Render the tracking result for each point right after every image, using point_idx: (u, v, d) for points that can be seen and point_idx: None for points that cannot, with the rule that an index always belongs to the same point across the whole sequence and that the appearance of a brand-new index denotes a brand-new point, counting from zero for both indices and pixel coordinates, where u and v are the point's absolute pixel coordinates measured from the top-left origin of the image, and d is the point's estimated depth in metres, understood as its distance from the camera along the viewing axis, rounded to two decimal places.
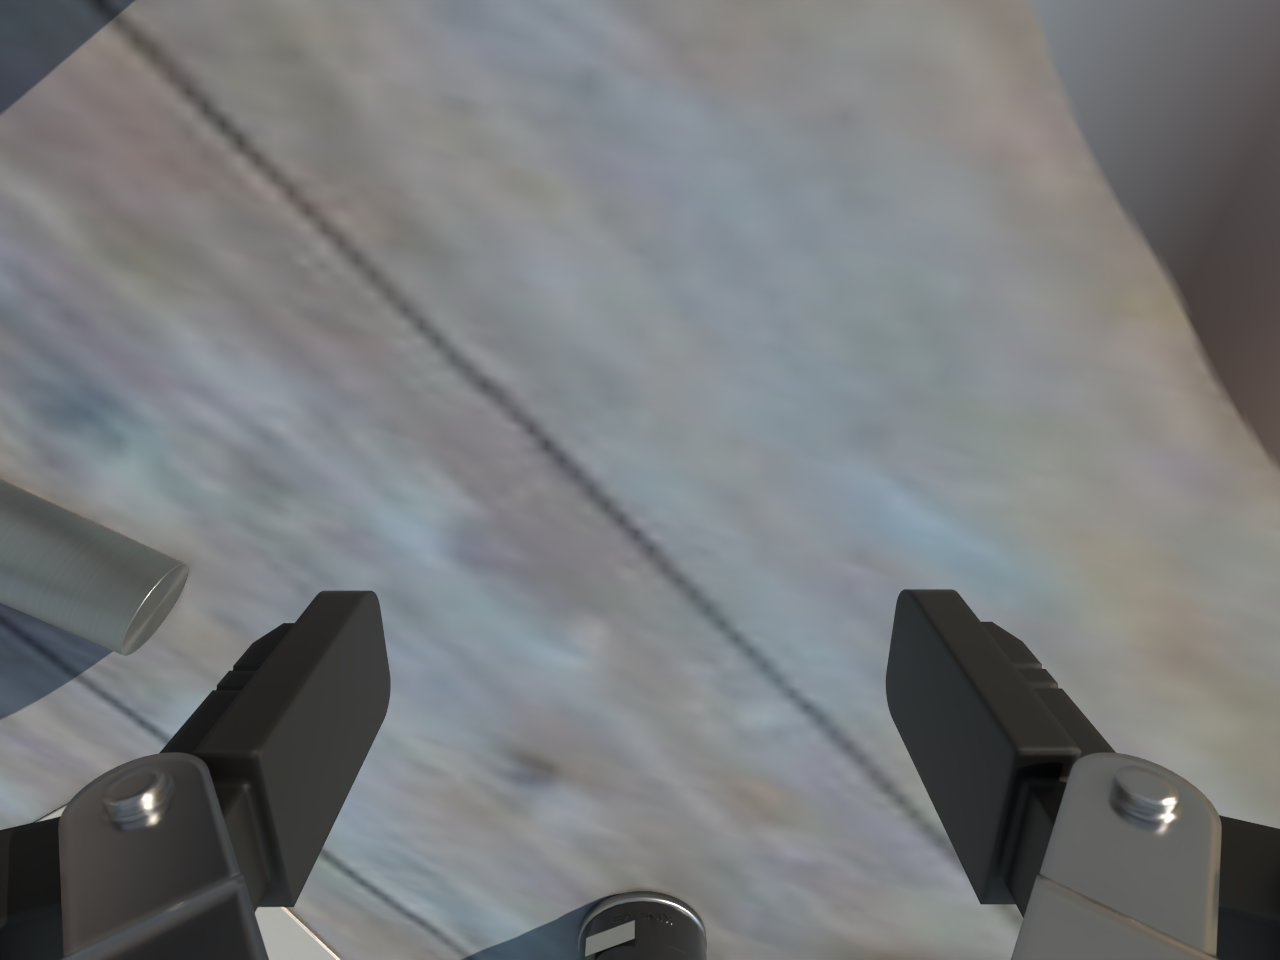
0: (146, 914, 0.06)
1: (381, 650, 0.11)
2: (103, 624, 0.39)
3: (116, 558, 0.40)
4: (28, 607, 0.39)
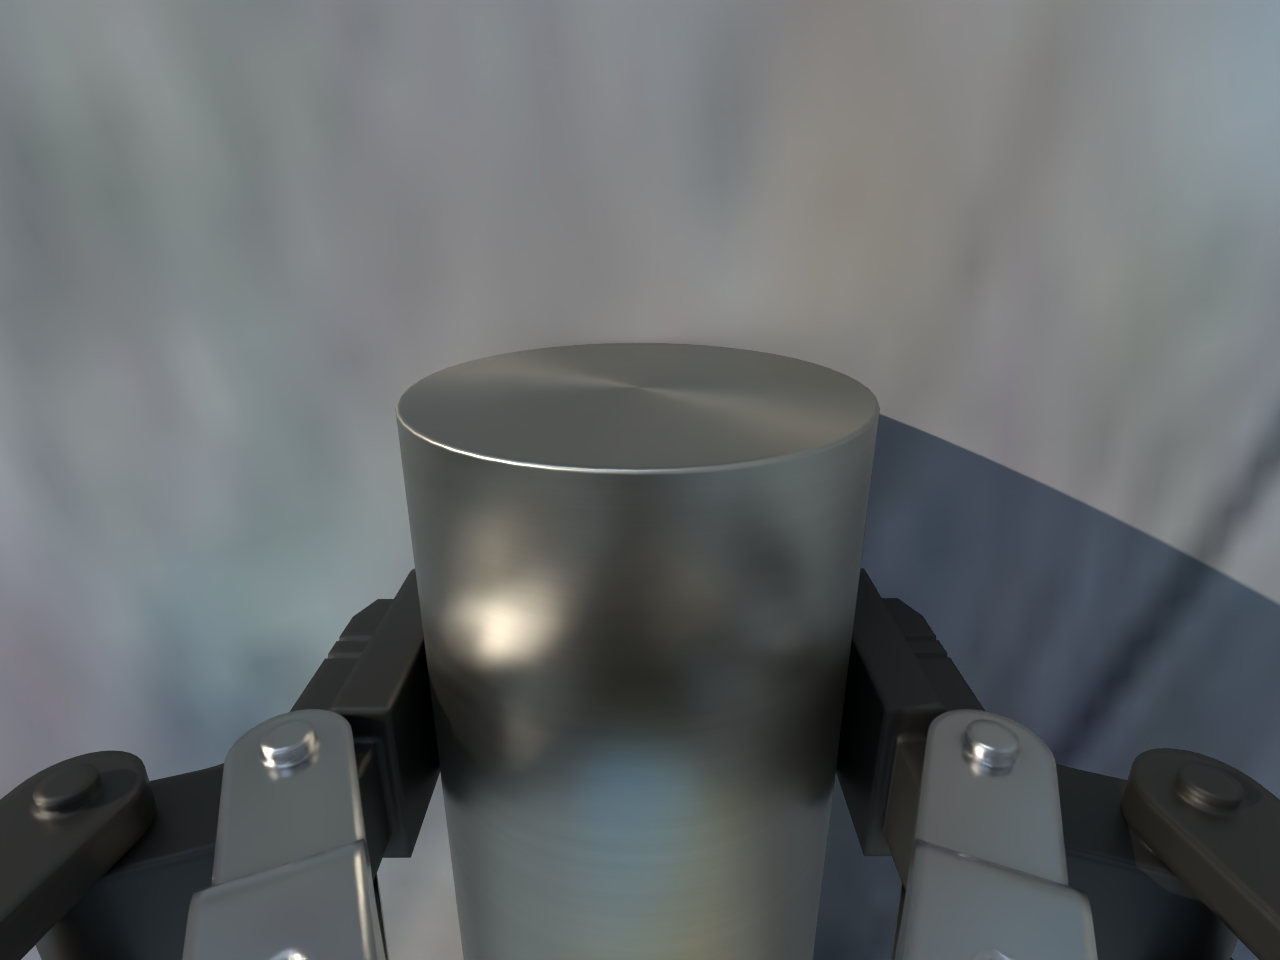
0: (282, 859, 0.06)
1: None
2: (616, 587, 0.07)
3: None
4: (711, 875, 0.08)
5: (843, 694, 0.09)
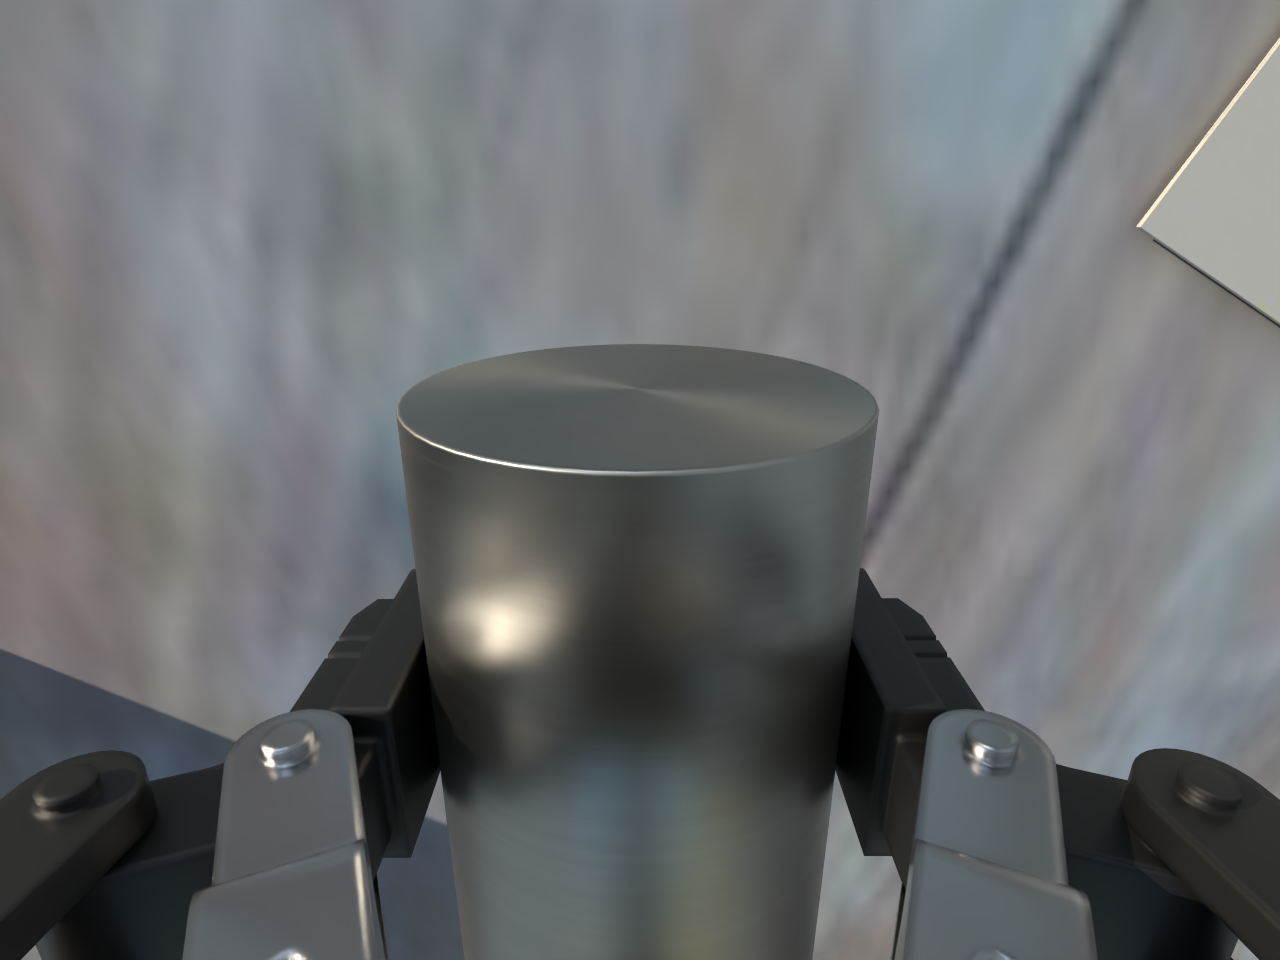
0: (282, 859, 0.06)
1: None
2: (616, 588, 0.07)
3: None
4: (711, 876, 0.08)
5: (843, 695, 0.09)
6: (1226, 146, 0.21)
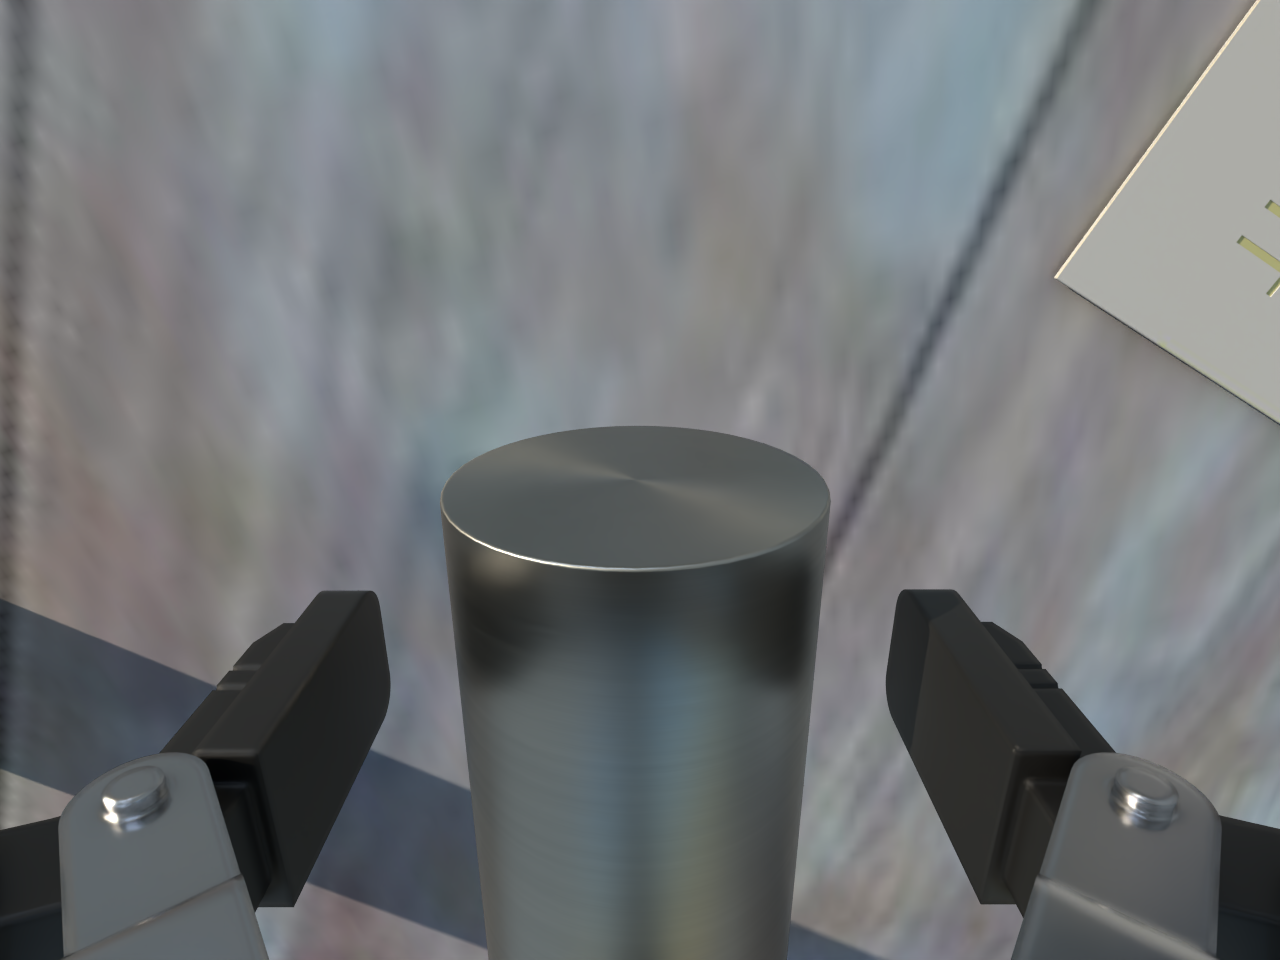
0: (146, 914, 0.06)
1: (381, 650, 0.11)
2: (619, 656, 0.09)
3: (456, 655, 0.11)
4: (697, 880, 0.10)
5: (806, 729, 0.11)
6: (1124, 213, 0.26)
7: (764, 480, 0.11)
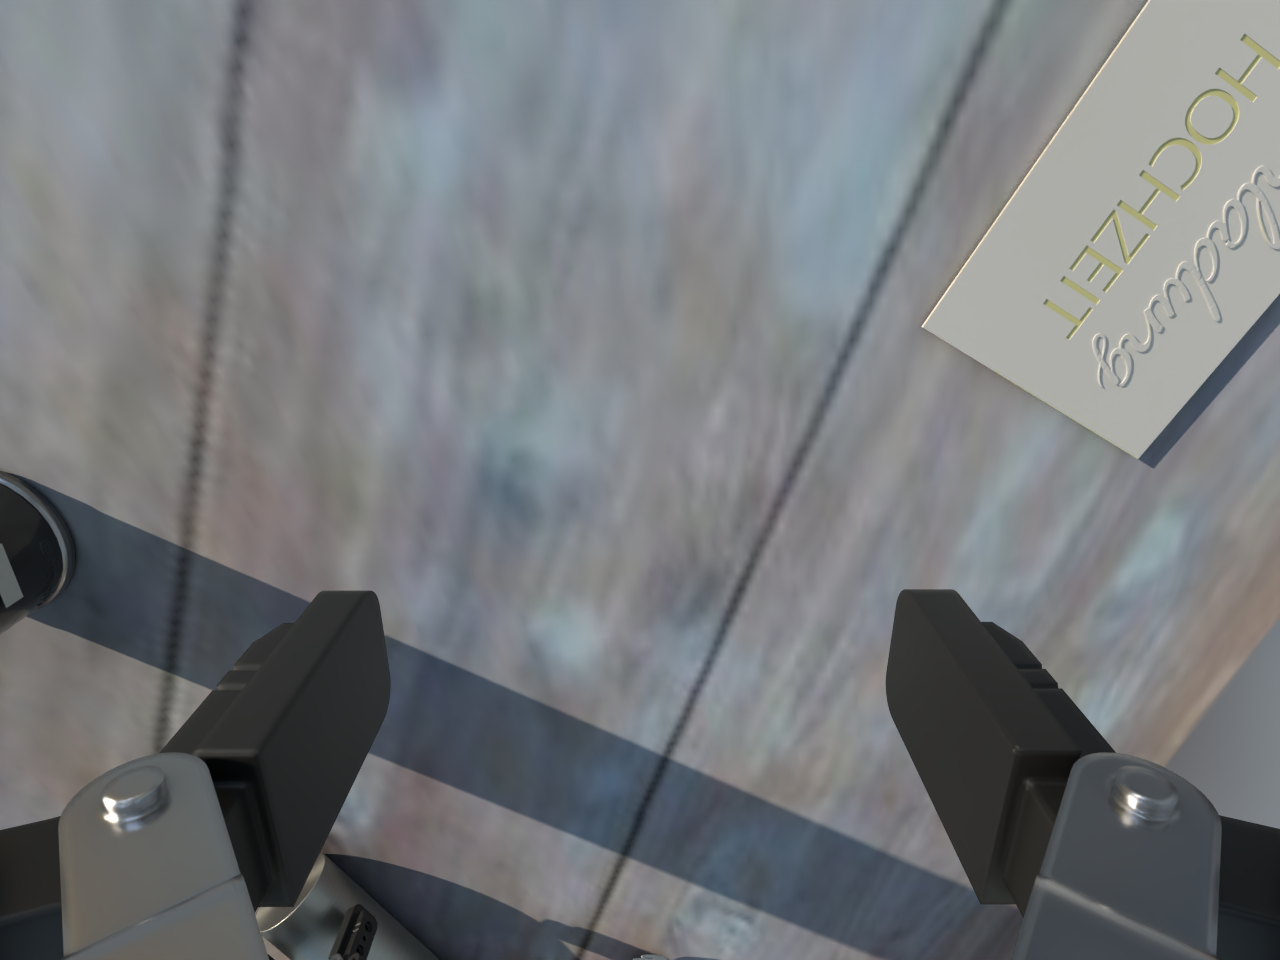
0: (146, 914, 0.06)
1: (381, 650, 0.11)
2: None
3: None
4: None
5: None
6: (965, 285, 0.38)
7: None
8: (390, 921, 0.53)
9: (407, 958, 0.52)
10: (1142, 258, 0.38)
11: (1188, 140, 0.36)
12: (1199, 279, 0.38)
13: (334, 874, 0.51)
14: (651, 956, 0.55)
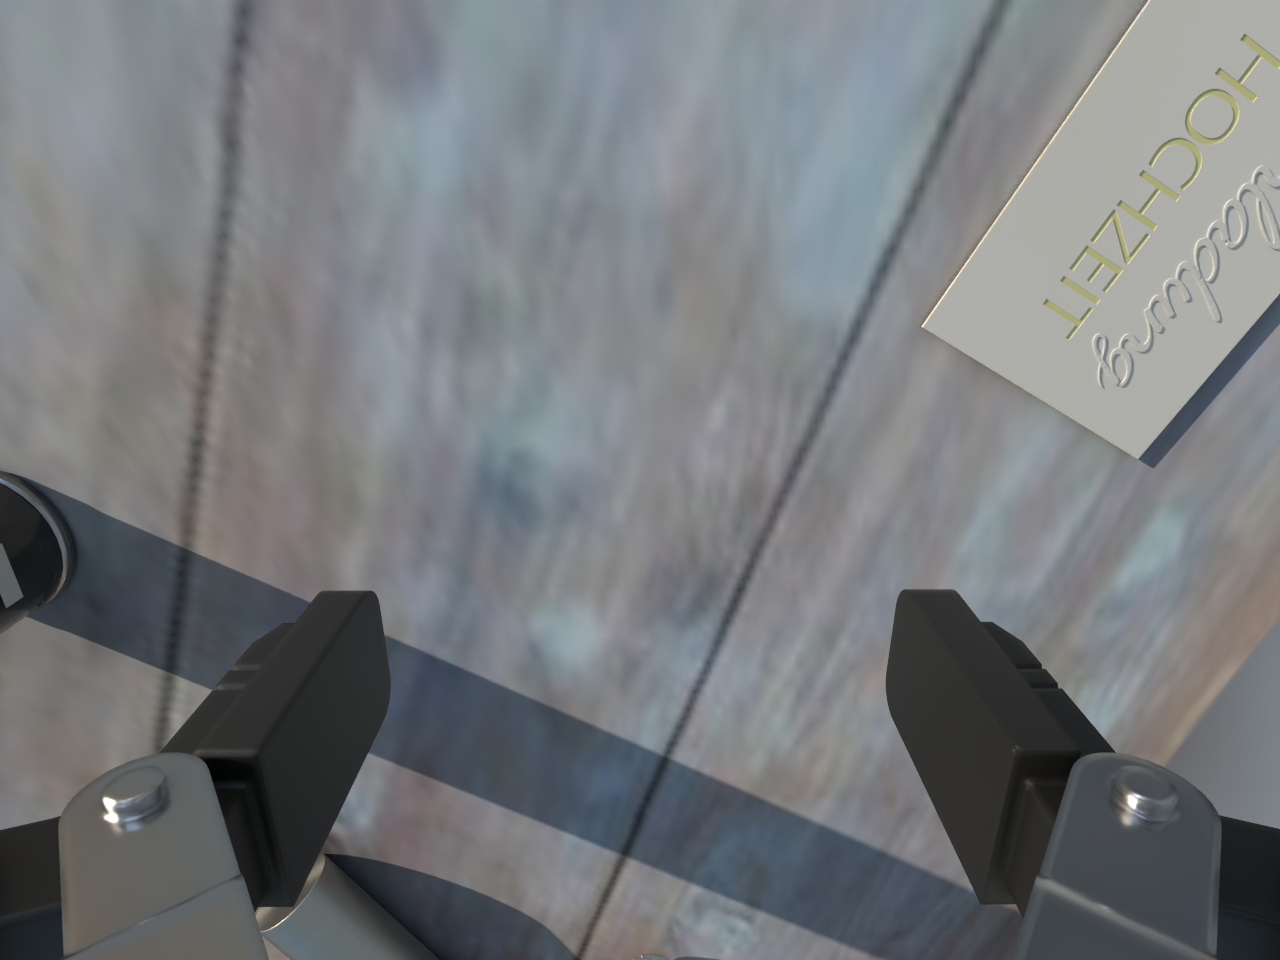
0: (146, 914, 0.06)
1: (381, 650, 0.11)
2: None
3: None
4: None
5: None
6: (965, 285, 0.38)
7: None
8: (390, 921, 0.53)
9: (407, 958, 0.52)
10: (1142, 258, 0.38)
11: (1188, 140, 0.36)
12: (1199, 279, 0.38)
13: (334, 874, 0.51)
14: (651, 956, 0.55)
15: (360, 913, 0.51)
